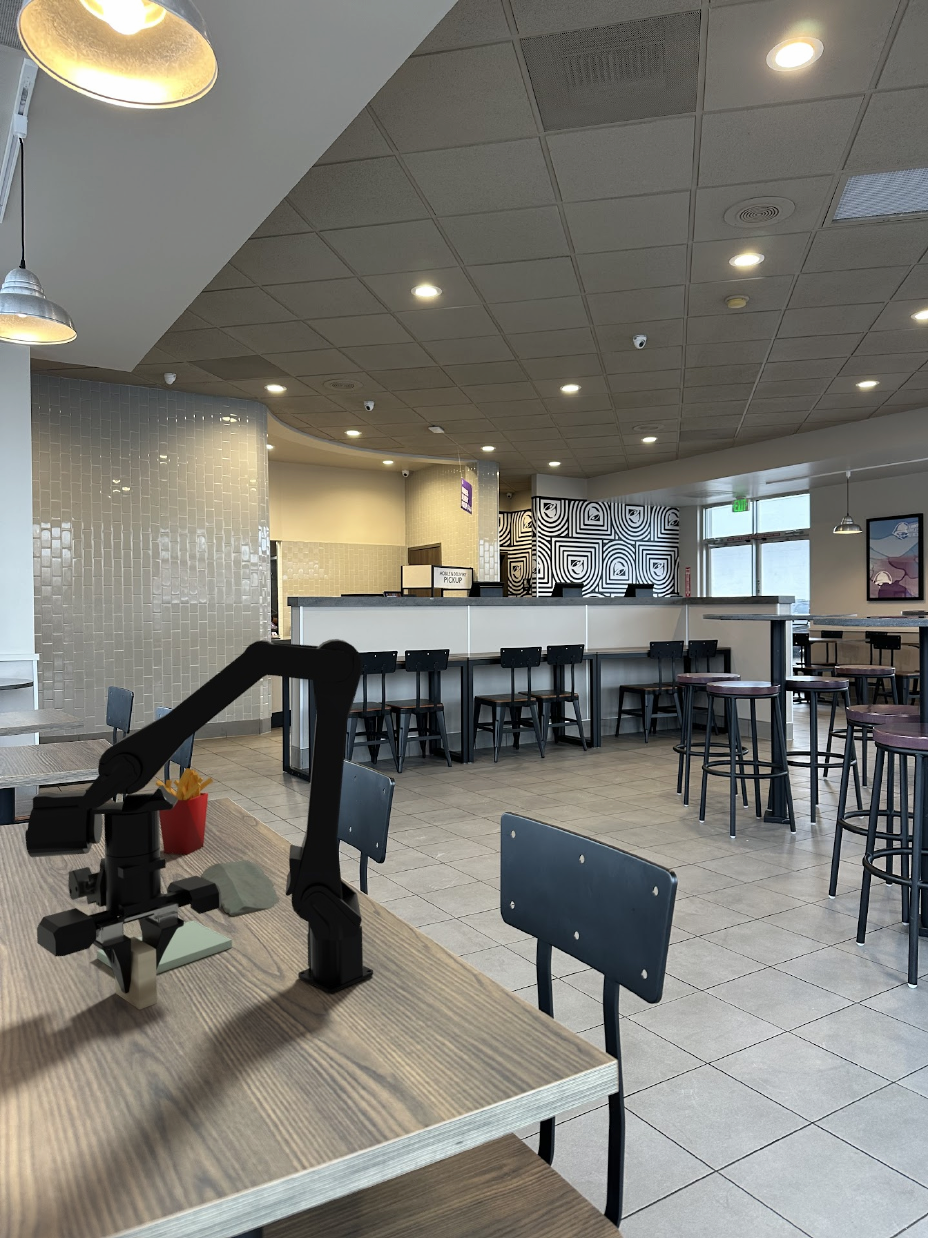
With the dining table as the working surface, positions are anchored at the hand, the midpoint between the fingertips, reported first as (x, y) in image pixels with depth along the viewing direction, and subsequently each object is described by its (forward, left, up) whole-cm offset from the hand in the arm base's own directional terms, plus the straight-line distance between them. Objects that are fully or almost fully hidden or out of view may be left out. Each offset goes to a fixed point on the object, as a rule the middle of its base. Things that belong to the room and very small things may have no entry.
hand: (135, 988), depth 91 cm
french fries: (+49, -33, -1) cm, 59 cm away
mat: (+9, -8, -1) cm, 12 cm away
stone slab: (+23, -27, -2) cm, 36 cm away
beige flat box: (0, 0, -1) cm, 1 cm away
